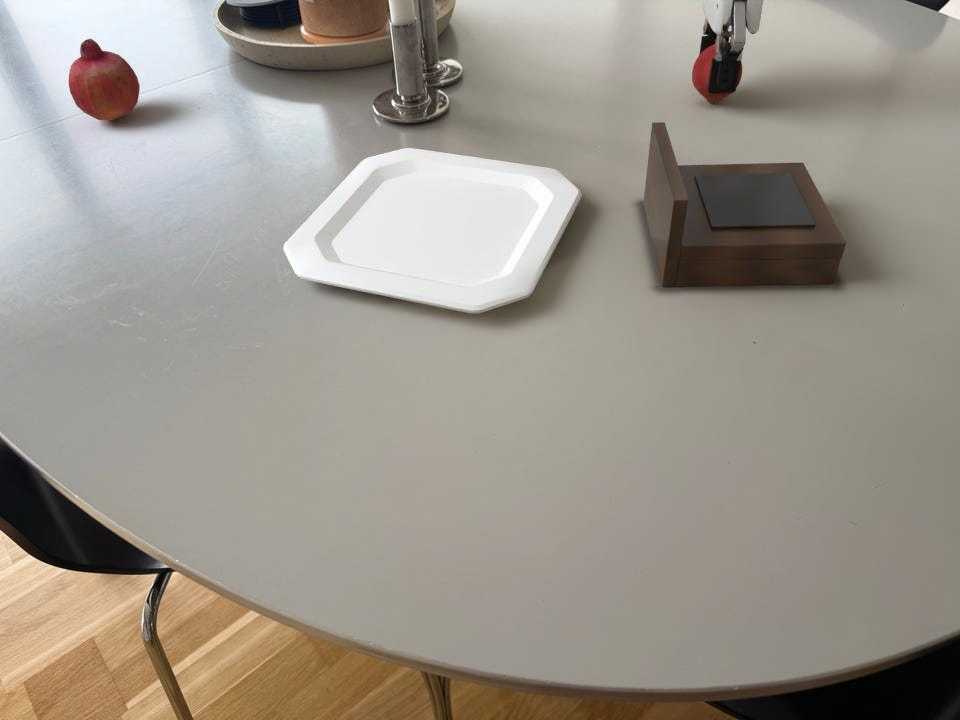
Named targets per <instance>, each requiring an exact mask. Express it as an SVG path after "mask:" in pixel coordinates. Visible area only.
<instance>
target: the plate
mask: <svg viewBox="0 0 960 720" xmlns="http://www.w3.org/2000/svg"><path fill="white" fill-rule="evenodd" d="M582 197H583V195H582V191H581V190H580V188H578V187H577V186H576V185H575V184H574V183H573V182H572V181H571V180H569V179H568V177H566V176H565V175H564V174H563V173H562V172H561V171H560V170H557V169H555V168H552V167H545V166H538V165H532V164H525V163H518V162H511V161H504V160H497V159H490V158H485V157H475V156H469V155H462V154H455V153H449V152H441V151H435V150H428V149H421V148H415V147H404V148H400V149H396V150H393V151H388V152H384V153H381V154H377V155H373V156H369V157H366V158H364V159H362V160H361V161H360V162H359V163H358V164H357V165H356V167H355V168H354V169H353V170H352V171H351V172H350V173H349V174H348V175H347V176H346V177H345V178H344V179H343V180H342V181H341V182H340V184H338V186H337V187H336V188H335V189H334V190H333V191H332V193H330V195H328V196H327V198H326V199H325V200H324V201H322V203H321V204H320V205H319V206H318V207H317V208H316V209H315V210H314V211H313V213H312V214H311V215H310V216H308V218H307V219H306V220H305V221H304V222H303V223H302V224H301V225H300V226H299V228H297V230H295V232H294V233H293V234H292V235H291V236H290V237H289V239H287V240H286V241H285V242H284V244H283V252H284V254H285V256H286V258H287V260H288V262H289V265H290V266H291V268H292V271H293V272H294V274H295V276H296V277H298V278H299V279H301V280H303V281H308V282H312V283H317V284H323V285H329V286H333V287H337V288H343V289H347V290H352V291H357V292H362V293H367V294H372V295H378V296H382V297H388V298H392V299H397V300H402V301H407V302H412V303H417V304H421V305H427V306H432V307H437V308H442V309H447V310H452V311H457V312H462V313H467V314H481V313H485V312H489V311H492V310H493V309H498V308H500V307H503V306H507V305H509V304H513V303H515V302H516V303H517V302H519V301H521V300H525V299H527V298H529V297H530V296H531V295H532V294H533V292H534V291H535V289H536V287H537V285H538V283H539V281H540V279H541V277H542V275H543V274H544V272H545V269H546V267H547V265H548V264H549V262H550V260H551V258H552V256H553V254H554V252H555V250H556V248H557V246H558V244H559V242H560V241H561V239H562V236H563V234H564V232H565V230H566V229H567V226H568V225H569V222H570V220H572V216H573V215H574V213H575V212H576V209H577V207H578V205H579V203H580V201H581V199H582Z"/></svg>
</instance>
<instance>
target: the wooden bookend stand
mask: <svg viewBox="0 0 960 720" xmlns="http://www.w3.org/2000/svg"><path fill="white" fill-rule="evenodd" d="M650 129H651V131H650V138H649V148H648V157H647V166H646V175H645V185H644V194H643V203H642V205H643V209H644V214H645V217H646V221H647V227H648V230H649V234H650V241H651V244H652V248H653V252H654V257H655V262H656V266H657V270H658V275H659V279H660V283H661V287H662V288H670V287H671V288H672V287H673V288H674V287H716V286H717V287H721V286H722V287H724V286H727V287H728V286H729V287H730V286H731V287H732V286H779V285H780V286H781V285H782V286H784V285H785V286H786V285H788V286H789V285H790V286H791V285H833V284H834V283H835V280H836V277H837V274H838V271H839V267H840V265H841V261H842V258H843V255H844V251H845V249H846V247H847V242H846V240H845V238H844V236H843V234H842V232H841V231H840V229H839V227H838V226H837V223H836V221H835V219H834V218H833V215H832V214H831V212H830V210H829V208H828V206H827V204H826V203H825V201H824V199H823V197H822V195H821V193H820V192H819V190H818V188H817V186H816V184H815V182H814V180H813V179H812V176H811V175H810V172H809V171H808V169H807V167H806V165H805V164H804V162H803V161H802V162H767V163H763V162H761V163H760V162H759V163H725V164H724V163H722V164H721V163H720V164H719V163H718V164H681V165H680V164H678V161H677V159H676V154H675V152H674V151H675V150H674V149H673V145H672V142H671V139H670V136H669V133H668V129H667V125H666V123H665V122H664V121H662V122H661V121H659V122H652V123H651V128H650Z"/></svg>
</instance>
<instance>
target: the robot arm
mask: <svg viewBox="0 0 960 720" xmlns="http://www.w3.org/2000/svg"><path fill="white" fill-rule="evenodd" d="M763 5H764V0H701V7H702V12H703V13H704V15H705V19H704V23H703V27H702V34H703V35H701V39H700V46H699V54H698V56H699V55H700V54H701V53H702V52H703V51H704V50H705V49H706V48H708V47H710V46H712V45H714V44H715V43H716V55H715V58H712V63H711V69H710V76H709V82H708V92H709V93H710V94H717V93H731V94H734V93H735V92H736V91H737V88H738V87H737V81H738V76H739V70H740V64H741V62H742V59H743V51H744V47H745V45H746V41H747V31H748V33H750V34H751V35H756V34H757V33H758V32H759V30H760V25H761V20H762V19H761V18H762V12H763ZM730 27H731V30H729V29H730ZM724 39H725V40H726V41H727V43H726V44H725V45H724V47H723V41H724ZM715 40H717V41H716V42H715ZM736 87H737V88H736Z"/></svg>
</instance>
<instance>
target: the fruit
mask: <svg viewBox="0 0 960 720" xmlns="http://www.w3.org/2000/svg"><path fill="white" fill-rule="evenodd" d="M79 53H80V56H79V57H78V58H77V59H75V60H74V61H73V62H72V64H70V68H69V72H68V88H69V93H70V95H71V98H72V99H73V101H74V103H75V105H76V107H77V108H78V109H80V110H81V111H82V113H83V114H86V115H88V116H90V117H92V118H93V119H96V120H97V121H115V120H118V119H120V118H122V117H124V116H127V115H128V114H129V113H131V112H132V111H133V110H134V108H136V105H137V104H138V102H139V96H140V87H141V85H140V82H139V79H138V76H137V74H136V72H135V71H134V69H133V67H131V65H130V64H129V62H127V60H126V59H125V58H124V57H123V56H121V55H120V54H118V53H115V52H112V51H108V50H103V49H102V48H101V46H100V45H99V43H98V42H96V40H94V39H92V38H87V39H85V40H84V41H82V42H81V43H80V47H79Z"/></svg>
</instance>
